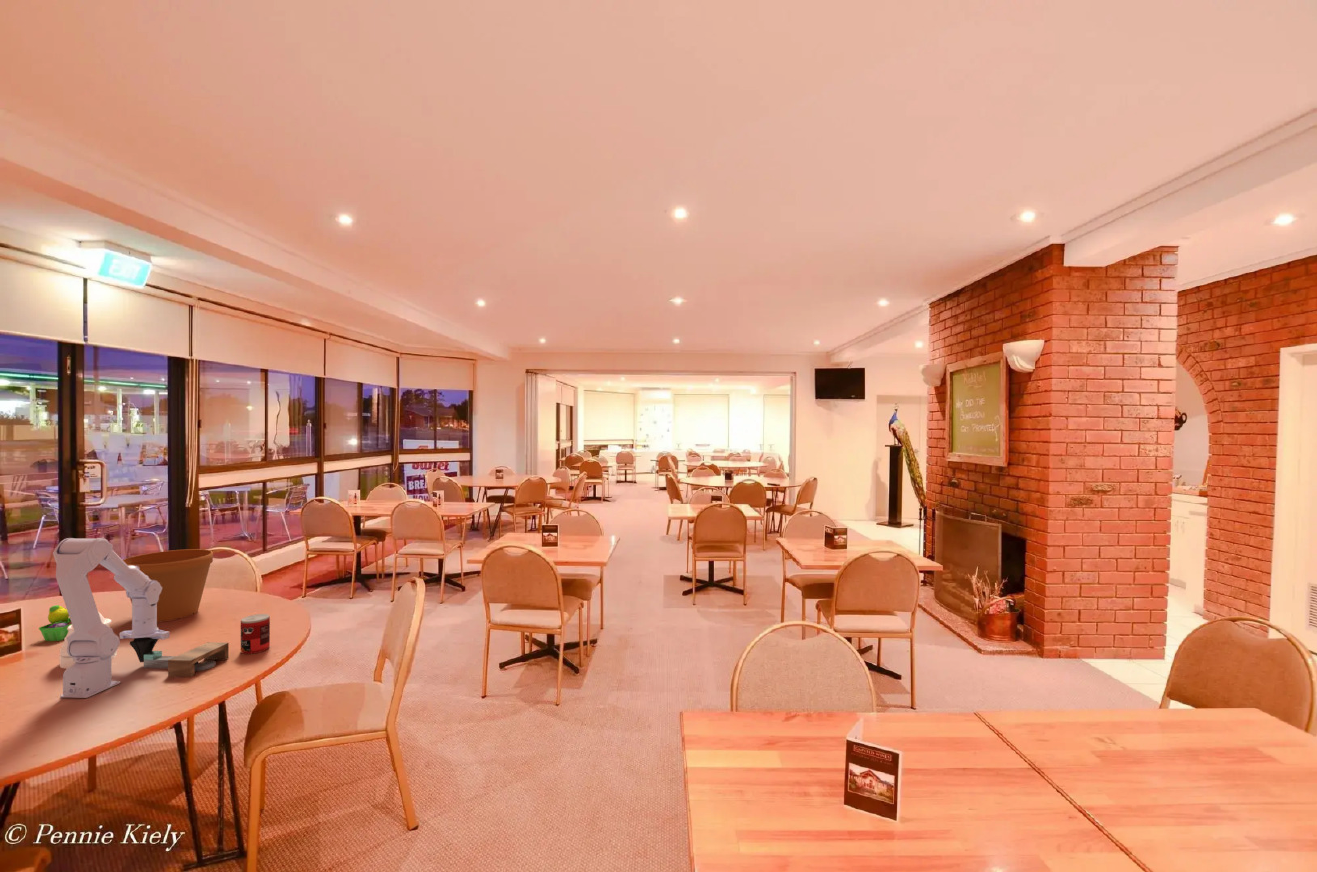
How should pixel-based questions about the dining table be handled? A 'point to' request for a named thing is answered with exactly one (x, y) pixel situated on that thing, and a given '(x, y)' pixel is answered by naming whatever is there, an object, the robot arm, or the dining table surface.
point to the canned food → (255, 633)
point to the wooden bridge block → (196, 658)
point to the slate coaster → (204, 665)
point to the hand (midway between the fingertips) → (144, 661)
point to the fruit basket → (56, 624)
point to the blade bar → (156, 660)
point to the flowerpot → (176, 579)
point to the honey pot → (64, 657)
